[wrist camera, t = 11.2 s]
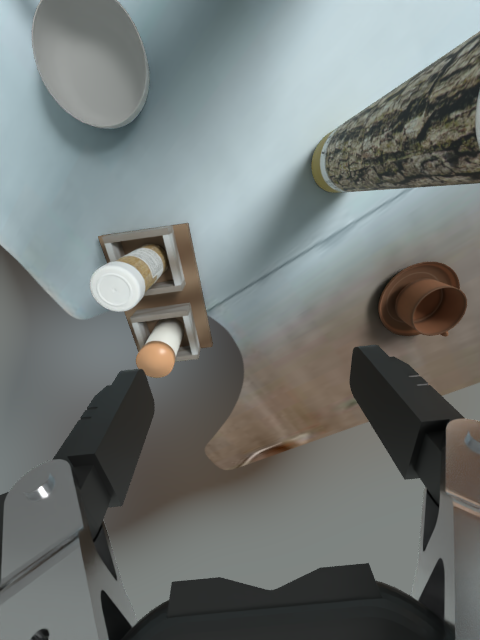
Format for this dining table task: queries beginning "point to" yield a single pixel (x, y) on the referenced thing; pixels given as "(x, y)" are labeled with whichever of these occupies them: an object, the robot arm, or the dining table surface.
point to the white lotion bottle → (161, 348)
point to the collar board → (166, 287)
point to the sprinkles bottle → (128, 277)
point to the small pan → (91, 60)
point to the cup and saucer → (422, 300)
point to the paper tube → (411, 132)
